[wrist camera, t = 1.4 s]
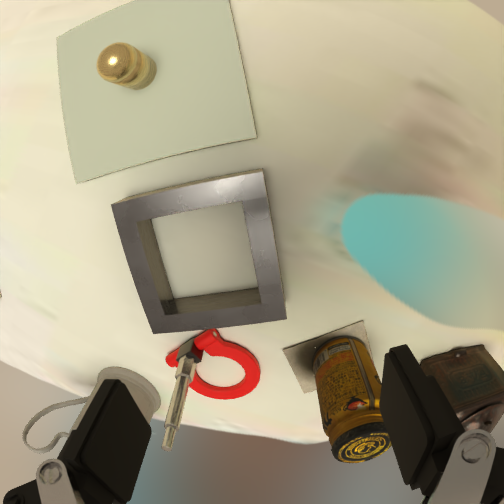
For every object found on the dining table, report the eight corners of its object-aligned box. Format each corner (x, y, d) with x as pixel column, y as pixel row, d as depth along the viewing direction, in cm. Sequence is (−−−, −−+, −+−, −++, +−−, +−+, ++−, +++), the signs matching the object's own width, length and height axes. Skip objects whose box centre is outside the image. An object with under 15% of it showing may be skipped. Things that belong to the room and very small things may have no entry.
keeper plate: (224, -18, 18) (222, -25, 16) (257, 137, 23) (256, 137, 21) (65, 41, 19) (56, 37, 18) (84, 181, 24) (76, 184, 23)
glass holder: (162, 420, 35) (133, 513, 21) (71, 392, 35) (26, 467, 21) (159, 376, 32) (117, 484, 18) (58, 347, 32) (-3, 426, 18)
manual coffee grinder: (486, 338, 29) (557, 432, 12) (460, 398, 33) (507, 488, 16) (383, 359, 30) (439, 497, 13) (367, 420, 34) (396, 535, 17)
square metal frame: (262, 168, 24) (262, 171, 21) (284, 301, 28) (286, 319, 25) (126, 197, 25) (111, 204, 22) (162, 316, 29) (153, 333, 26)
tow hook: (275, 372, 31) (217, 318, 29) (281, 476, 19) (198, 430, 17) (218, 401, 33) (161, 355, 31) (207, 494, 22) (127, 453, 19)
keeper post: (154, 51, 19) (125, 30, 14) (159, 83, 20) (130, 69, 15) (120, 63, 19) (86, 47, 14) (125, 94, 20) (90, 85, 15)
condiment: (374, 368, 30) (406, 452, 19) (303, 392, 32) (313, 481, 21) (362, 319, 28) (403, 408, 17) (282, 347, 30) (288, 445, 18)
